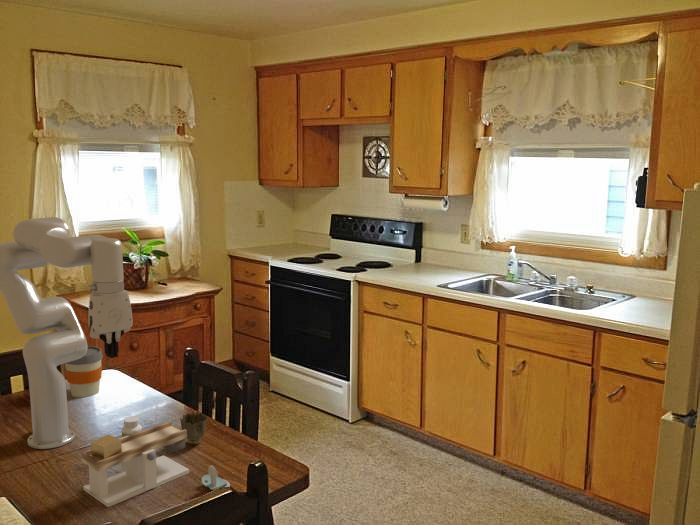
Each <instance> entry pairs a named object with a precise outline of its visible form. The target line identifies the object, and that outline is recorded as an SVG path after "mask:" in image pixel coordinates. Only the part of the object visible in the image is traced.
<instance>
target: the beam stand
mask: <svg viewBox="0 0 700 525" xmlns="http://www.w3.org/2000/svg"><path fill="white" fill-rule="evenodd" d="M125 437H127V436H125ZM122 438H124V437H122V436H120V437H118V439H122ZM156 454H157V453H156V450H154V449H151V450H149V451H146V452H143V453H142V455H141V456H138V457H136V458H133V459H130V460H128V461H125V462H123V463H120V464H118V471H119V472H117V473H114V474H112V475H109V476H108V471H107V470H108V468H107V469H104V470H102V471H99V472H97V471H96V470H94V469H93V468H91V467H90V466H88V476H89V477H88V478H89V483H88V484H85V485H83V487H82V488H83V491H84V492H85V493H87V494H89V495H90V496H92V497H93V498H94V499H96V500H97V501H98V502H100V503H101V504H102V505H104V506H105V507H107V508H109V507H110V508H111V507H112V506H115V505H117V504H120V503H121V502H124V501H126V500H129V499H131V498H133V497H136V496H138V495H140V494H143V493H145V492H148V491H150V490H152V489H154V488H158V487H160V486H161V485H164V484H166V483H170V482H171V481H174V480H176V479H179V478H181V477H184V476H186V475H188V474H190V469H189V468H188V467H186V466H184V465H183V464H180V463H178V462H177V461H175V460H173V459H171V458H170V457H168V456H165V454H164V455H161V456H158V457H157V456H156Z"/></svg>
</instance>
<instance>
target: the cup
mask: <svg viewBox="0 0 700 525" xmlns="http://www.w3.org/2000/svg"><path fill="white" fill-rule="evenodd" d="M207 418H208V417H207V414H206V415H205V413H202V412H196V413H195V412H192V414H191V413H190V412H187V413H186V414H183V415H182V417H180V418H179V420H180V427H181V430H184V429H186V430H187V438H185V440H187V443H188V445H191V446H195V445H199V444H200V443H201V441H202V440H201V439H202V438H203V436H204V435H205V433H206V429H207V428H206V427H207Z"/></svg>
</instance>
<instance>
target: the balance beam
mask: <svg viewBox="0 0 700 525" xmlns="http://www.w3.org/2000/svg"><path fill="white" fill-rule="evenodd" d="M186 438H187V430H186V429H184V430H182V429H181V430H180V429H179V428H176V427H175V426H173V425H172V421H168V422H164V423H162V424H158V425H156V426H153V427H151V428H147V429H145V430H142V431H141V432H139V433H136V434H133V435H130V436H127V437H124V438H122V439H121V445H122V453H119V454H117V455H114V456H111V457H108V458H106V459H103V460H100V461H99V460H97V459H95V458H93V457H92V455H91V448H90V449H88V450H85V451H81V453H80V458H81V462H82V463H84V464H85V465H87V466H88V467H89V466H90V467H91V468H93V469H94V470H96V471H97V472H99V471H102V470H104V469H107V470H108V469H110V468H112V467H114V466H118V465H119V464H120V463H123V462H125V461H128V460H130V459H133V458H136V457H138V456H141V455H142V453H143V452H146V451H149V450H151V449H154V450H155V451H156V450H159V449H162V448H163V449H166V451H167V450H168V451H169V452H171V453H174V452H176V451H179V450H182V449H185V448H186Z"/></svg>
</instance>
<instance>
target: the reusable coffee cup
mask: <svg viewBox="0 0 700 525" xmlns="http://www.w3.org/2000/svg"><path fill="white" fill-rule="evenodd" d="M102 352H103V350H102V348H100V347H99V346H91V345H89V346H88V349H87V352H86V354H85V355H84V356H83V357H82V358H80V359H77V360H74V361H71V362H67V363H64V364H65V365H64V366H65V367H64V371H65V378H66V381H67V382H68V386H69V390H70V394H71V396H72V397H74V398H88V397H93V396H95V395H98V394H99V392H100V381H101V380H102V374H103V364H102V359H103V358H104V357H103V353H102ZM67 382H66V383H67Z"/></svg>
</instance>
